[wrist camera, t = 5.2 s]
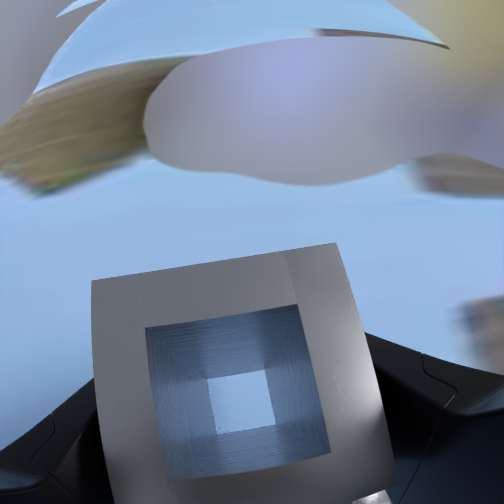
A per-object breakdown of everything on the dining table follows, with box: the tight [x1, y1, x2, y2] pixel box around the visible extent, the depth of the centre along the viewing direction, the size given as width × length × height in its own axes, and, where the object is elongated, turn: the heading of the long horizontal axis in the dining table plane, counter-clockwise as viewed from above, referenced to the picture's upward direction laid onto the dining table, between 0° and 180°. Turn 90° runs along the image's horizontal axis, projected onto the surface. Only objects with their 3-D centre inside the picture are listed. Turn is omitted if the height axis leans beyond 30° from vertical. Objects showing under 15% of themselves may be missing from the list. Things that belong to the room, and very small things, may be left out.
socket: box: [91, 243, 398, 504], centre depth 9 cm, size 5×5×10 cm
